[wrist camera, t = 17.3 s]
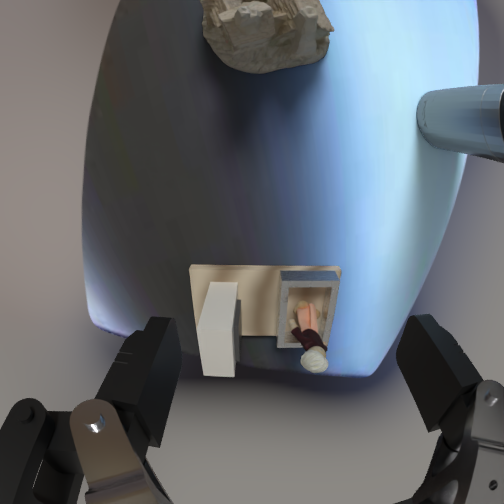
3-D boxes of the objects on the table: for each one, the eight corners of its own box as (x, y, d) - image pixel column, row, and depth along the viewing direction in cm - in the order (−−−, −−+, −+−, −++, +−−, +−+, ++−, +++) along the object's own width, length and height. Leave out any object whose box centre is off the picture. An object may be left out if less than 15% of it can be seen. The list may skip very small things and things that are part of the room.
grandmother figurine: (330, 310, 42) (351, 367, 31) (316, 327, 44) (331, 386, 32) (290, 289, 41) (301, 348, 29) (276, 308, 42) (282, 369, 31)
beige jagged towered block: (335, 69, 30) (370, 26, 16) (211, 82, 32) (174, 44, 18) (313, -17, 25) (328, -77, 11) (199, -4, 26) (167, -60, 12)
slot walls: (334, 270, 40) (340, 280, 37) (324, 334, 44) (327, 346, 42) (280, 270, 40) (281, 280, 37) (276, 335, 45) (277, 347, 42)
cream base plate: (338, 266, 41) (341, 270, 40) (328, 328, 46) (329, 334, 44) (191, 264, 41) (189, 269, 40) (198, 328, 46) (197, 333, 45)
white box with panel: (242, 282, 41) (237, 330, 31) (242, 325, 44) (239, 377, 34) (210, 281, 41) (196, 329, 31) (214, 325, 44) (203, 375, 34)
